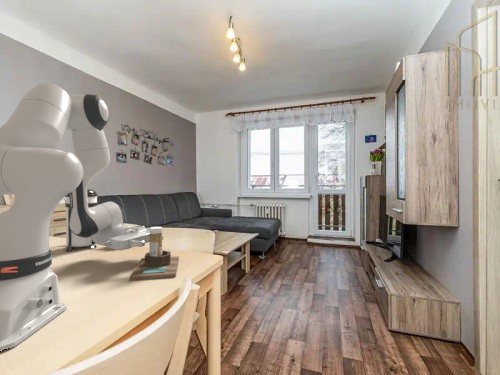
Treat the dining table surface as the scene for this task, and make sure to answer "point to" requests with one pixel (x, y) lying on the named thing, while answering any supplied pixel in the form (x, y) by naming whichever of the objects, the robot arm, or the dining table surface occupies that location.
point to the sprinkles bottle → (155, 241)
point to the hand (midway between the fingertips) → (153, 240)
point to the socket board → (156, 267)
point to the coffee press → (71, 238)
